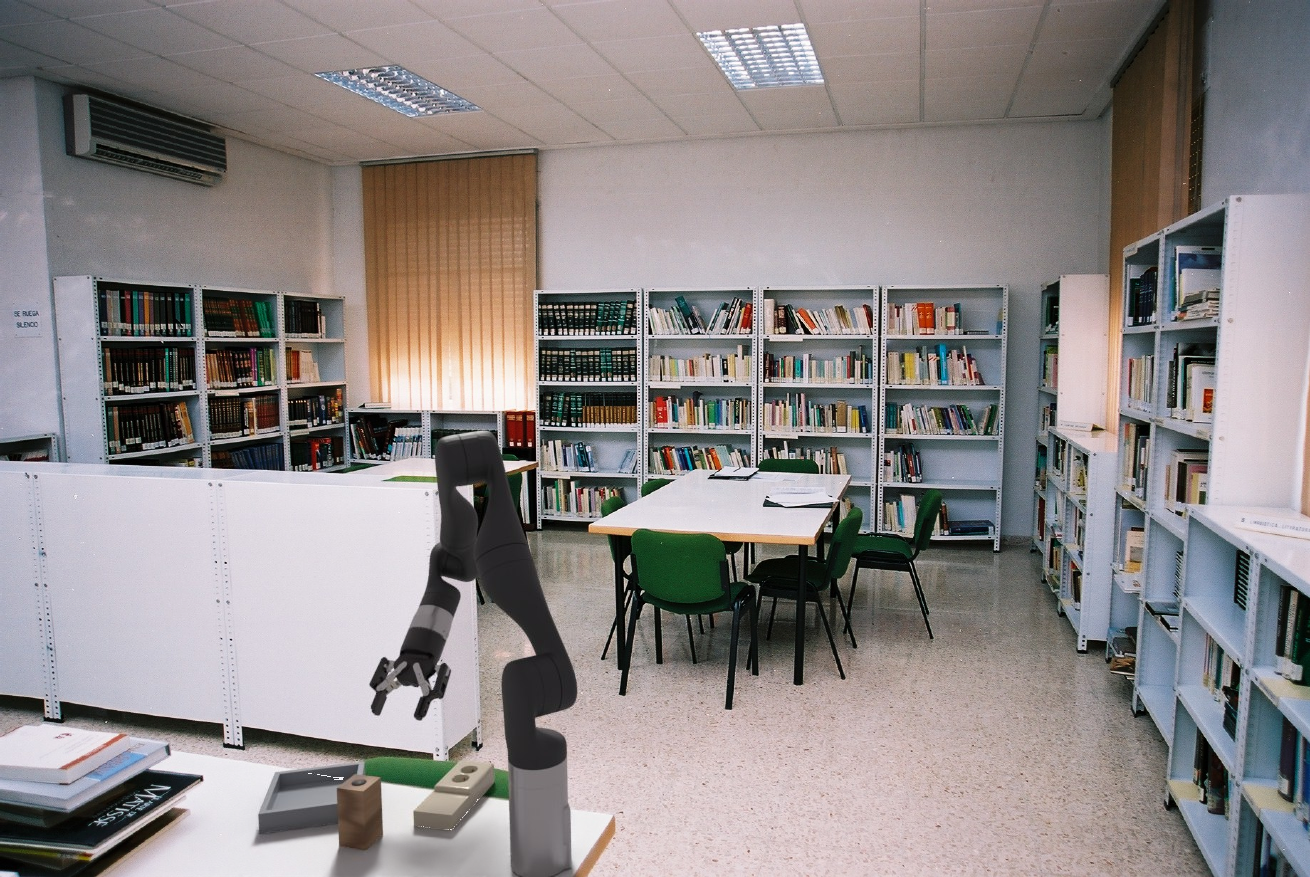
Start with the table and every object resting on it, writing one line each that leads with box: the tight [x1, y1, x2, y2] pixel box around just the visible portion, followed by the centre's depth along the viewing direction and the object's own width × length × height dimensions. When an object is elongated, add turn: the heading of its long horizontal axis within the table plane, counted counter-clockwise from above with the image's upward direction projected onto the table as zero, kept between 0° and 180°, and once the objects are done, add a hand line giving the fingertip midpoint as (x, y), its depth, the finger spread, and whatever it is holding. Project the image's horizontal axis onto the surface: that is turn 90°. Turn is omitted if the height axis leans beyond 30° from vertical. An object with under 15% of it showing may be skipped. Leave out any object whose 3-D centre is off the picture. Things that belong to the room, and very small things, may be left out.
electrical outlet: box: [412, 760, 496, 831], centre depth 153 cm, size 7×4×18 cm
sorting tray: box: [257, 761, 366, 835], centre depth 153 cm, size 16×16×4 cm
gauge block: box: [337, 774, 384, 851], centre depth 140 cm, size 5×5×10 cm
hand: (396, 716), depth 151 cm, fingers open, 8 cm apart
